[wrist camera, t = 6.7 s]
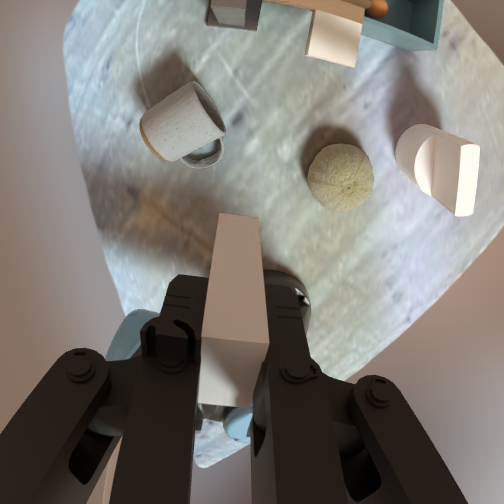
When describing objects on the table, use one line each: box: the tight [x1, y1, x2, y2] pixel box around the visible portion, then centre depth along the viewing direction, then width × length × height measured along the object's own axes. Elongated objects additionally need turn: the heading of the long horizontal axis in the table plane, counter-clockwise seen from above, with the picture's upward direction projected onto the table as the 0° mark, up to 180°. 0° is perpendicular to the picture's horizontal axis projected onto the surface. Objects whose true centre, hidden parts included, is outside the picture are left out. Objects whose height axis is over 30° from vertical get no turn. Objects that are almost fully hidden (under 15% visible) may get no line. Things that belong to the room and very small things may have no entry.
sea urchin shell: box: [307, 143, 374, 212], centre depth 41 cm, size 9×8×8 cm
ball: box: [365, 0, 388, 18], centre depth 29 cm, size 3×3×3 cm
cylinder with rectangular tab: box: [395, 124, 480, 216], centre depth 36 cm, size 9×9×12 cm
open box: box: [361, 0, 444, 51], centre depth 27 cm, size 8×10×8 cm
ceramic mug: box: [140, 81, 226, 169], centre depth 36 cm, size 11×8×8 cm
